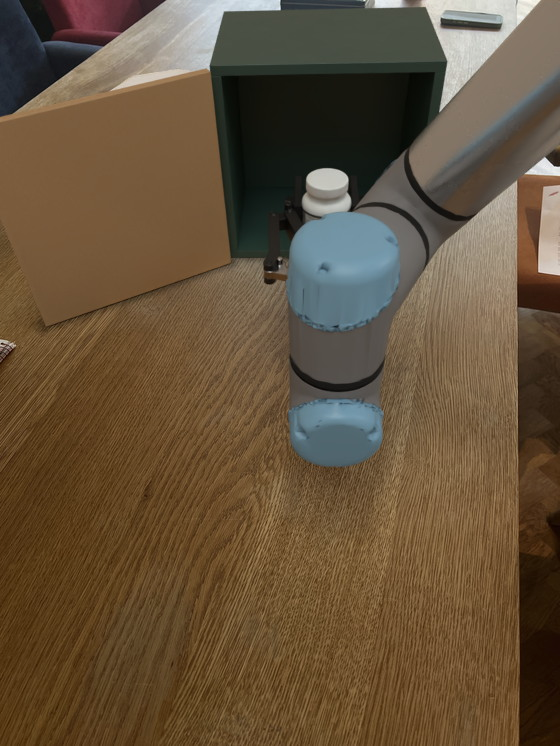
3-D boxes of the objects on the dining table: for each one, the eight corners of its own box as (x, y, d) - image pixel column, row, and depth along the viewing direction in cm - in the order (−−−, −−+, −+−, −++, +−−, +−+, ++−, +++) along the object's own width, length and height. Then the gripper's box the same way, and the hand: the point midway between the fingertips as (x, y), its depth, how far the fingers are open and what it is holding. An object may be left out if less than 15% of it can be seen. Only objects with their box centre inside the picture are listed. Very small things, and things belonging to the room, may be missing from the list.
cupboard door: (33, 296, 83) (-48, 104, 64) (211, 237, 91) (186, 51, 72) (46, 327, 79) (-38, 130, 60) (231, 262, 87) (210, 71, 68)
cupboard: (415, 256, 87) (447, 60, 67) (230, 257, 88) (209, 65, 68) (401, 189, 99) (426, 6, 79) (239, 190, 100) (223, 11, 81)
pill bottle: (335, 272, 72) (339, 197, 65) (292, 258, 74) (292, 184, 67) (355, 246, 75) (362, 172, 68) (314, 234, 77) (316, 160, 70)
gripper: (235, 343, 61) (249, 213, 77) (424, 344, 61) (399, 212, 76) (228, 285, 56) (245, 157, 71) (437, 285, 55) (407, 156, 71)
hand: (325, 186), depth 74 cm, fingers closed on pill bottle, 6 cm apart
